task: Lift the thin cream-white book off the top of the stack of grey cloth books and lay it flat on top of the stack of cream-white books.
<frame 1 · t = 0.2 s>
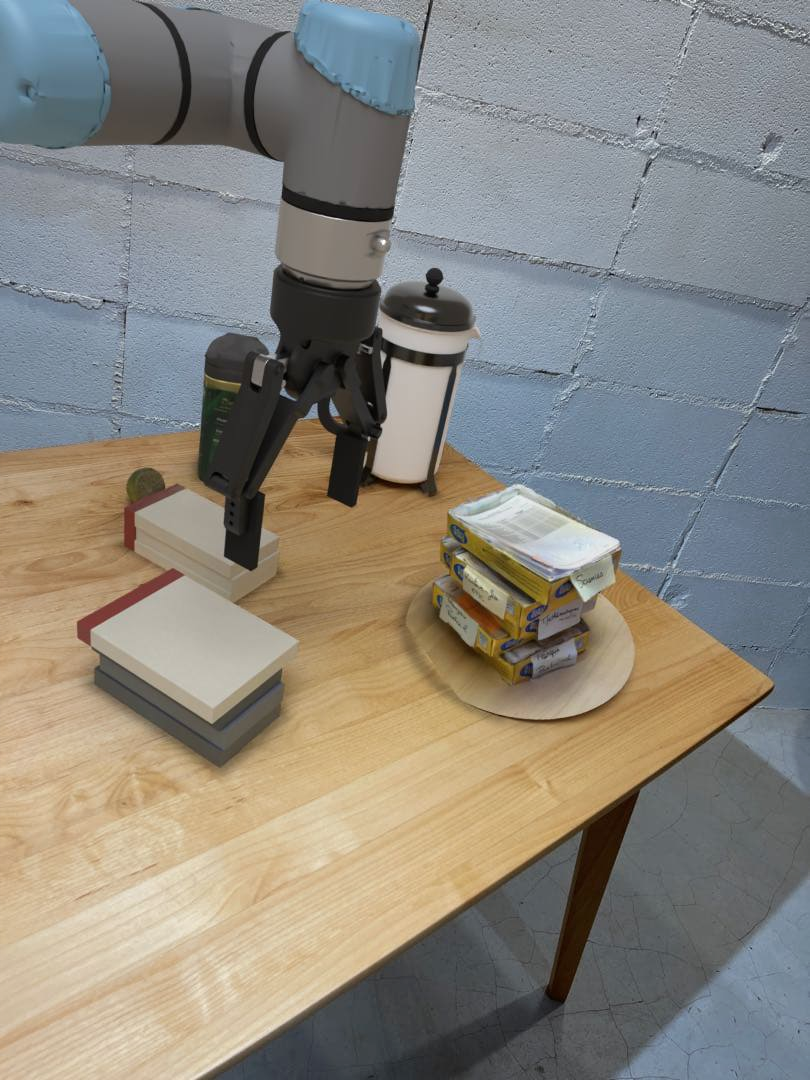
hand: (294, 529, 67), 19 cm above the table, tool pointing down, fingers open, 13 cm apart
white book: (190, 647, 71), point 7 cm above the table, touching grey stack
grey stack: (187, 702, 74), on the table
coffee press: (386, 475, 119), on the table
paper stack: (514, 645, 91), on the table
coffee jar: (228, 473, 111), on the table
white stack: (202, 563, 92), on the table
lime: (145, 506, 100), on the table
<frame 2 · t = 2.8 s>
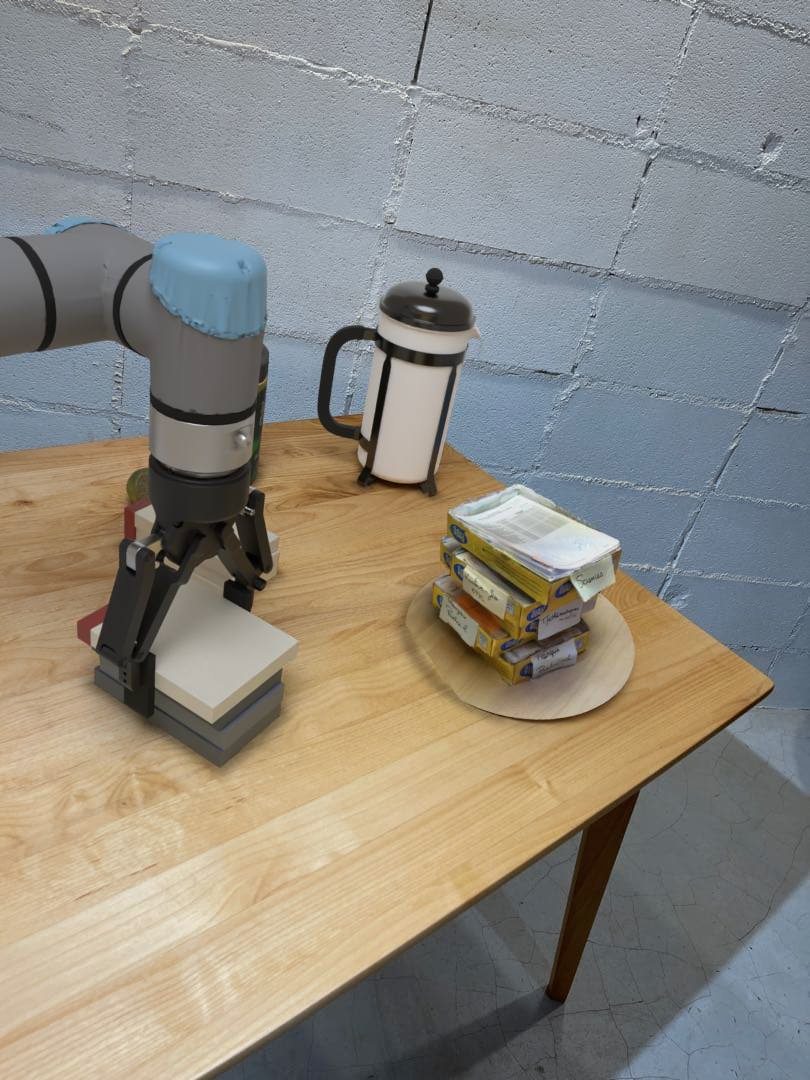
hand: (189, 673, 73), 4 cm above the table, tool pointing down, fingers closed on white book, 11 cm apart
white book: (190, 647, 71), point 7 cm above the table, touching grey stack, gripper
everything else where it was.
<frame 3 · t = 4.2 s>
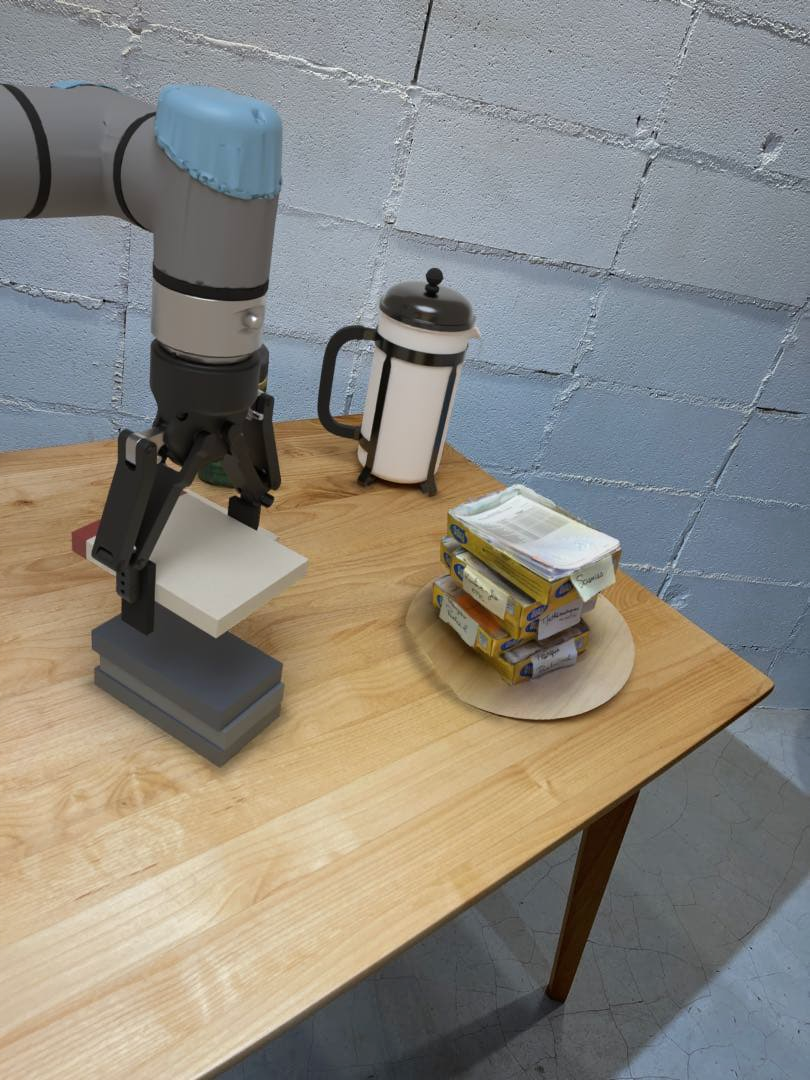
hand: (190, 593, 68), 12 cm above the table, tool pointing down, fingers closed on white book, 11 cm apart
white book: (192, 564, 66), point 15 cm above the table, touching gripper
everything else where it was.
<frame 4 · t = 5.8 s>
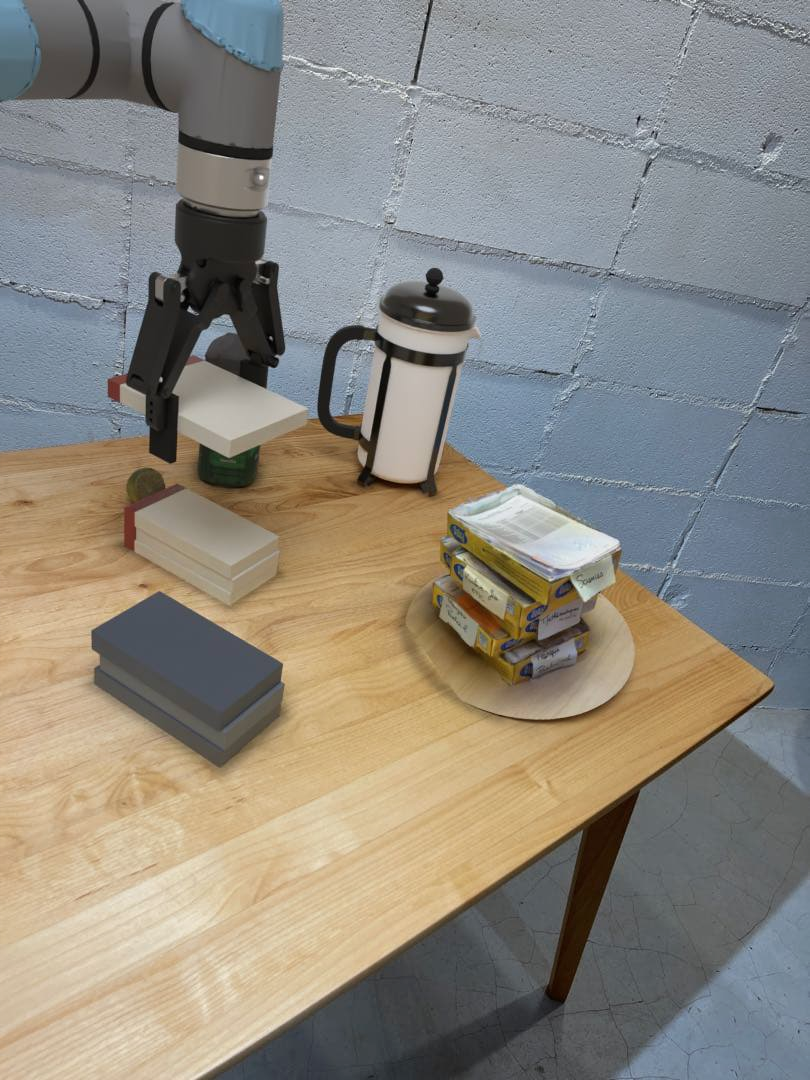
hand: (207, 439, 80), 18 cm above the table, tool pointing down, fingers closed on white book, 11 cm apart
white book: (209, 411, 78), point 21 cm above the table, touching gripper
everything else where it was.
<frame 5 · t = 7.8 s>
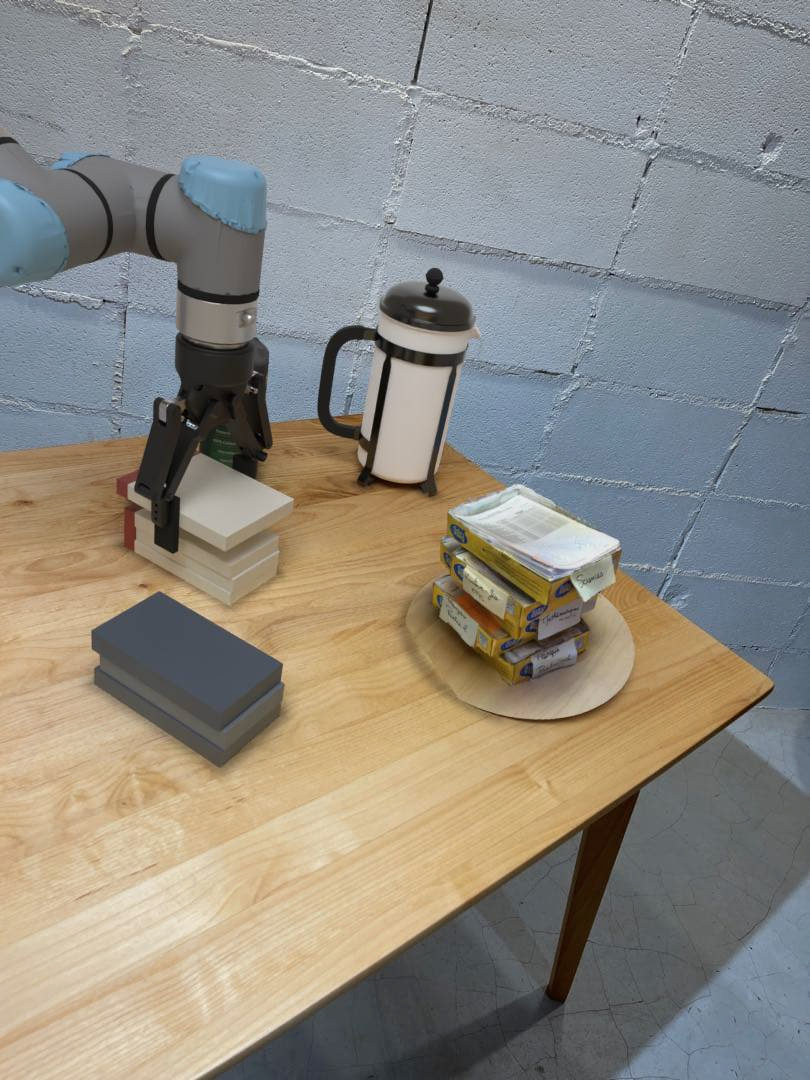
hand: (205, 526, 90), 5 cm above the table, tool pointing down, fingers closed on white book, 11 cm apart
white book: (206, 503, 88), point 8 cm above the table, touching gripper
everything else where it was.
when the fingers open (2 cm above the table, at t = 9.2 s): white book stays where it is, resting on white stack.
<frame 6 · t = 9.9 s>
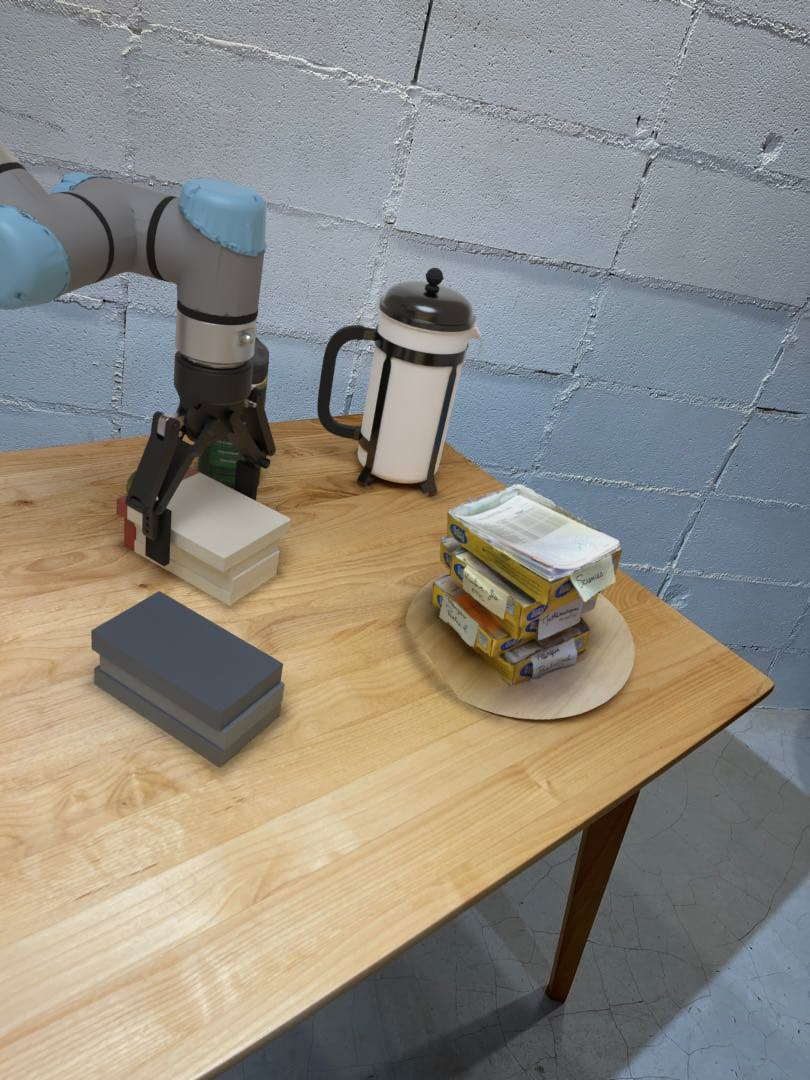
hand: (202, 535, 91), 4 cm above the table, tool pointing down, fingers open, 13 cm apart
white book: (205, 523, 90), point 5 cm above the table, touching white stack
everything else where it was.
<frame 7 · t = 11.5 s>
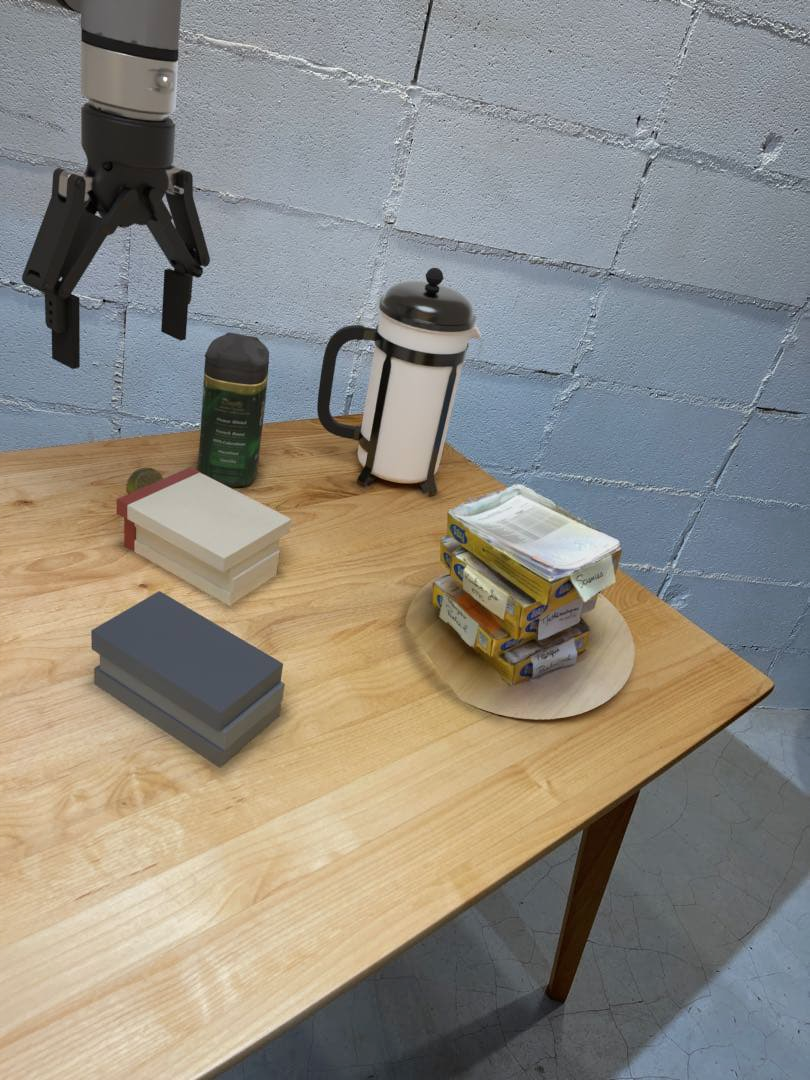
hand: (123, 348, 80), 24 cm above the table, tool pointing down, fingers open, 13 cm apart
nothing on the table moved.
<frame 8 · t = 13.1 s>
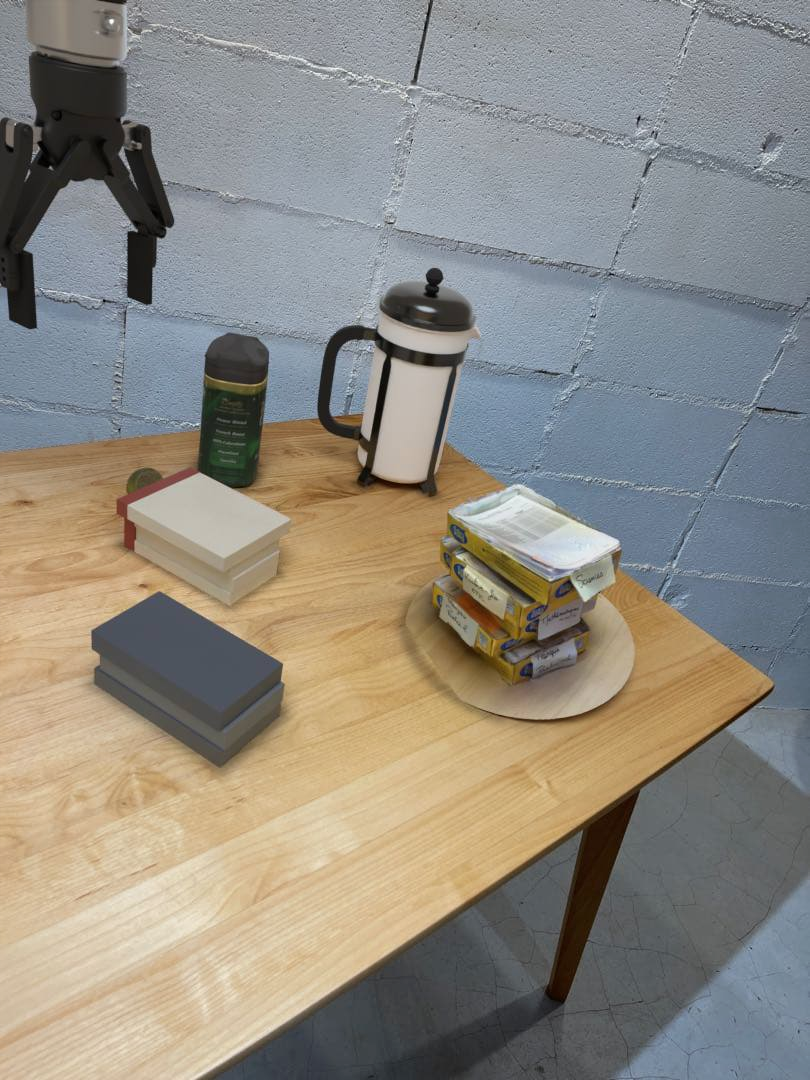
hand: (85, 312, 78), 27 cm above the table, tool pointing down, fingers open, 13 cm apart
nothing on the table moved.
at the end: white book 0.1 cm off-centre on the white stack, point 5.4 cm above the white stack's base; white book tilted 0°; white book touching white stack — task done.
